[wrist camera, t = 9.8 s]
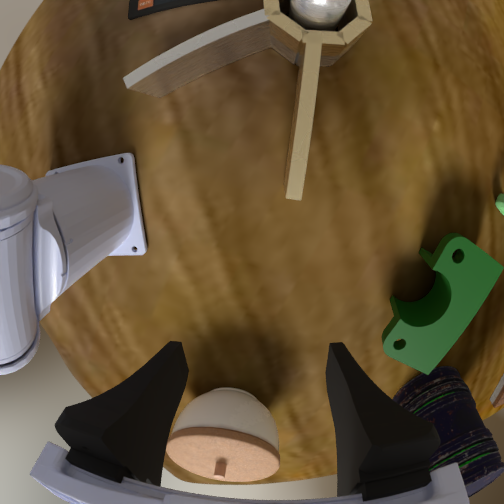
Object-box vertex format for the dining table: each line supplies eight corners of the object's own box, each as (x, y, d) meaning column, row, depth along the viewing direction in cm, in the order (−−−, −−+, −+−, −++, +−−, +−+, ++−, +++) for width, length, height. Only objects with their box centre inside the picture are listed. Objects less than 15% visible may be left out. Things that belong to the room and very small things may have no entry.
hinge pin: (290, 49, 16) (297, 7, 9) (285, 14, 15) (287, -36, 8) (334, 49, 15) (360, 9, 9) (327, 14, 14) (347, -34, 8)
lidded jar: (195, 358, 26) (167, 437, 17) (298, 388, 26) (300, 468, 18) (177, 412, 30) (156, 475, 21) (260, 436, 31) (254, 500, 22)
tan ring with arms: (164, 192, 20) (133, 209, 16) (156, 16, 15) (126, -9, 10) (358, 185, 19) (382, 200, 14) (344, 2, 14) (360, -30, 9)
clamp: (414, 228, 24) (460, 208, 15) (456, 256, 23) (509, 247, 14) (362, 339, 23) (394, 365, 15) (409, 361, 22) (451, 391, 14)
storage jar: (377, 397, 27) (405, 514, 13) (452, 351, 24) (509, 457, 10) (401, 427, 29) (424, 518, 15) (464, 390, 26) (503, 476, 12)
